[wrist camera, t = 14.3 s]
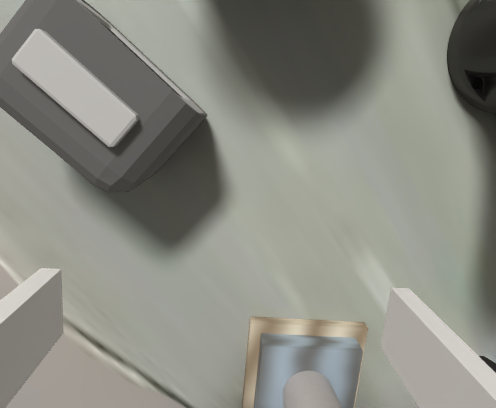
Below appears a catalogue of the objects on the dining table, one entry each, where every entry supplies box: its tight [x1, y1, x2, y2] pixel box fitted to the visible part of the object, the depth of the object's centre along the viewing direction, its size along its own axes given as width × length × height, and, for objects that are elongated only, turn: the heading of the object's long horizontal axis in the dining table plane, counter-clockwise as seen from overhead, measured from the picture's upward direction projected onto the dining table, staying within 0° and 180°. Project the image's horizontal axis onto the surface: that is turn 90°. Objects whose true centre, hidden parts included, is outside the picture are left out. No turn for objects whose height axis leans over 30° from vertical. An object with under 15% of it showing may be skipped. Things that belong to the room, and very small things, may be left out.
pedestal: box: [242, 317, 368, 408], centre depth 51 cm, size 16×16×4 cm
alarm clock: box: [0, 0, 208, 192], centre depth 37 cm, size 16×11×16 cm
